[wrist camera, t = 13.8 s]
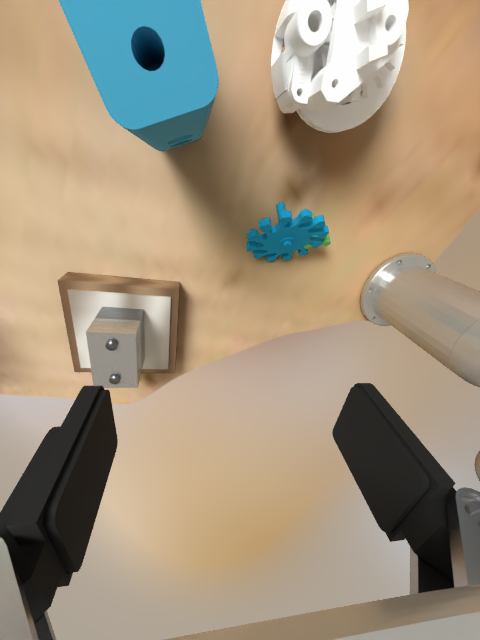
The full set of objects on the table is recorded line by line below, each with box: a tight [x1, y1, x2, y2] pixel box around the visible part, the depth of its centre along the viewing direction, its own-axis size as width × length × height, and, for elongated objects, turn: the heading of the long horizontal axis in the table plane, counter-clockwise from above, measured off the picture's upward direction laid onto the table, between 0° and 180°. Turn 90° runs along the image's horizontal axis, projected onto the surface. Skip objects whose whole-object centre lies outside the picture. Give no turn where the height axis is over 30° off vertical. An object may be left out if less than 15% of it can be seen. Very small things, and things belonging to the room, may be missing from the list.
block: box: [59, 0, 218, 151], centre depth 17 cm, size 12×5×20 cm, turn 16°
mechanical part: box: [271, 0, 409, 133], centre depth 22 cm, size 11×12×12 cm
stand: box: [58, 272, 180, 373], centre depth 36 cm, size 14×14×3 cm
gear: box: [247, 203, 330, 261], centre depth 32 cm, size 11×6×10 cm
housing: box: [86, 307, 145, 388], centre depth 32 cm, size 5×8×6 cm, turn 171°
